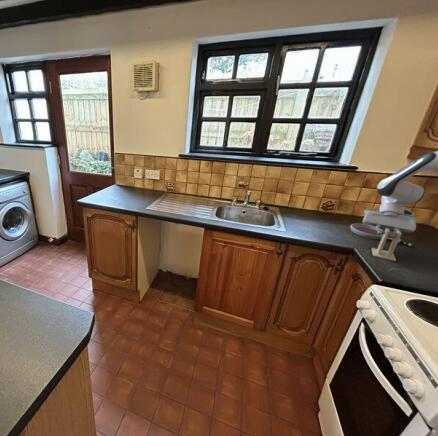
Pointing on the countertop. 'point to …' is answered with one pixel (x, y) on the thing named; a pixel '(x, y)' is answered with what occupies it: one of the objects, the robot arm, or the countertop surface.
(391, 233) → the stove lever
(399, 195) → the robot arm
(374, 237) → the frying pan
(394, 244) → the white stand
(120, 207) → the countertop surface
